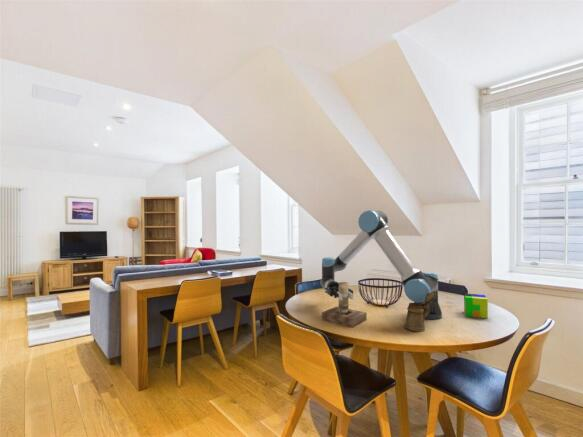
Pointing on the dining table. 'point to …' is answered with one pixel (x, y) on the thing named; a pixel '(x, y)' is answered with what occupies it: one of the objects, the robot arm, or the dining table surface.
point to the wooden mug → (418, 313)
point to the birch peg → (343, 297)
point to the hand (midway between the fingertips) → (347, 296)
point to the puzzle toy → (475, 305)
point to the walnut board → (344, 317)
